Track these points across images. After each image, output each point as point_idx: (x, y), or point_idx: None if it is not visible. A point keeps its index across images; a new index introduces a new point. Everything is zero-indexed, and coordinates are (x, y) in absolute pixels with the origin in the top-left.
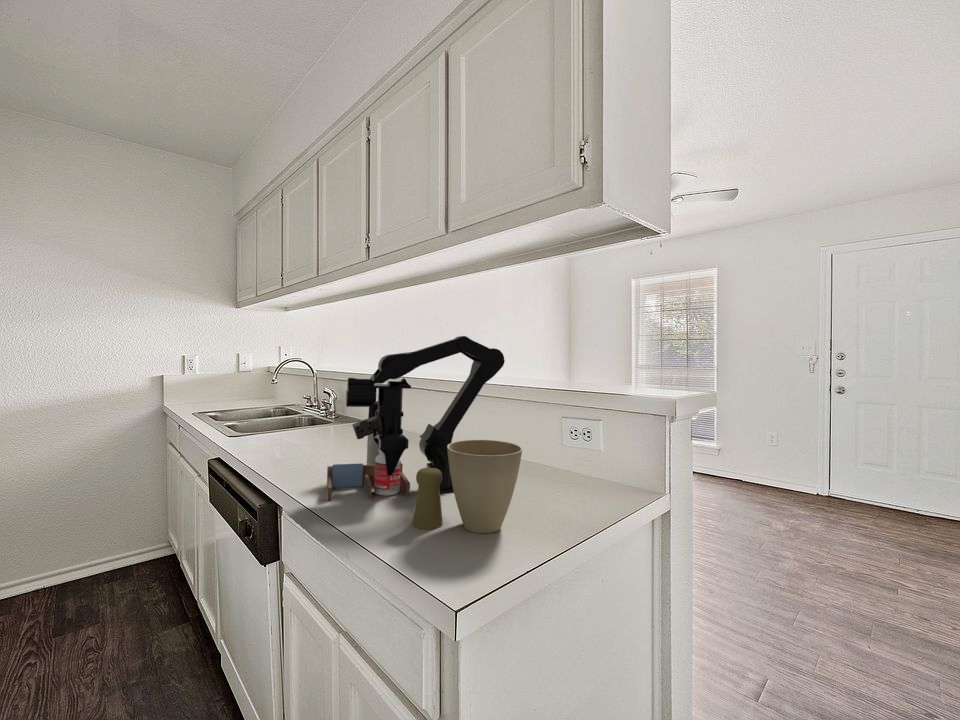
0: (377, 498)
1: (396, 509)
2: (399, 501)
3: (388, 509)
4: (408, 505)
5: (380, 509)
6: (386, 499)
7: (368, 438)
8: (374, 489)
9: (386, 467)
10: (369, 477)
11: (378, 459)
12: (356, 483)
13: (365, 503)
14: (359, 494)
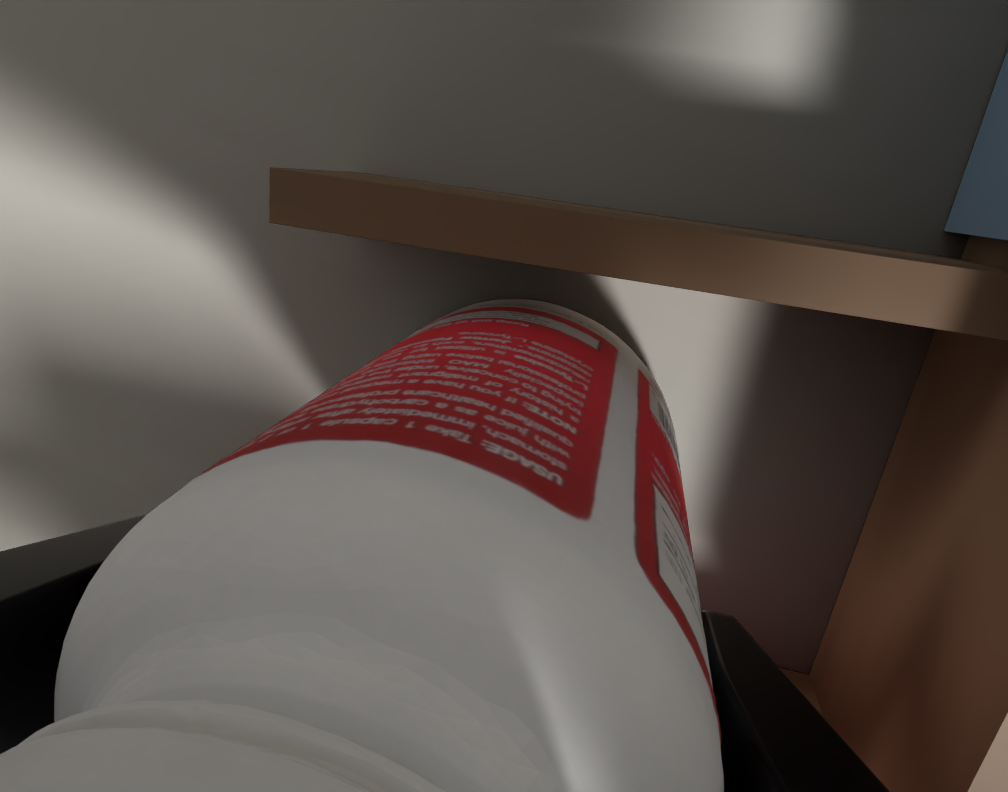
0: (347, 281)
1: (16, 352)
2: (212, 451)
3: (21, 285)
4: (100, 480)
5: (26, 214)
6: (293, 359)
7: None
8: (502, 301)
9: (83, 536)
10: (986, 365)
11: (190, 516)
12: (997, 135)
13: (213, 105)
14: (562, 105)
